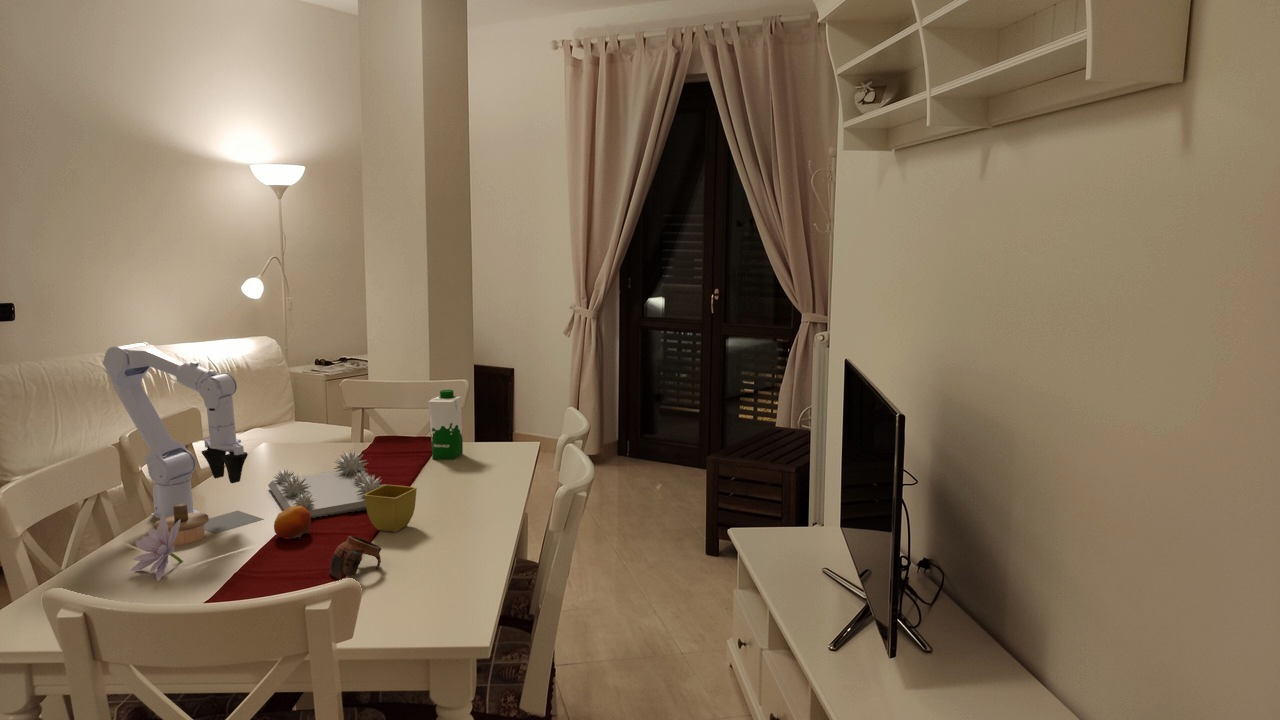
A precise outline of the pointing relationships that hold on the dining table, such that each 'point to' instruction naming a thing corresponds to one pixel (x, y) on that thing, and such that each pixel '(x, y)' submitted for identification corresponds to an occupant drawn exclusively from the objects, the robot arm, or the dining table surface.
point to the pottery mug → (352, 556)
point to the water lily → (157, 548)
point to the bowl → (189, 535)
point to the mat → (229, 521)
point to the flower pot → (390, 506)
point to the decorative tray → (327, 488)
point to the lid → (184, 518)
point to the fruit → (292, 522)
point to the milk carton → (446, 426)
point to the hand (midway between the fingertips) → (226, 479)
